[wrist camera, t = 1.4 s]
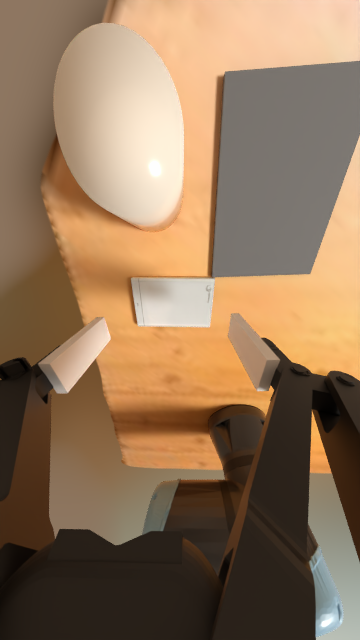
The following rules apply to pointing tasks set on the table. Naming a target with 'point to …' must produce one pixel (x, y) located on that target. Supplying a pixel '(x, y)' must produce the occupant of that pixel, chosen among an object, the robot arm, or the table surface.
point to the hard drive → (173, 301)
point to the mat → (282, 164)
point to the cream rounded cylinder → (121, 125)
